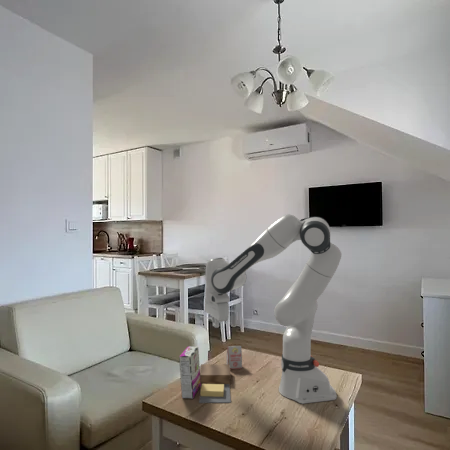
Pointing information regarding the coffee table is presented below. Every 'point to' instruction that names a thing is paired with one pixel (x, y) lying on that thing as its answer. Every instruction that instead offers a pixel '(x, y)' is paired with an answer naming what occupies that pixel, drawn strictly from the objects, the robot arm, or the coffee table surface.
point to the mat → (213, 399)
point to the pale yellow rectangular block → (212, 390)
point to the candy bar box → (190, 372)
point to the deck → (215, 374)
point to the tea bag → (234, 357)
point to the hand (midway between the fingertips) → (215, 326)
